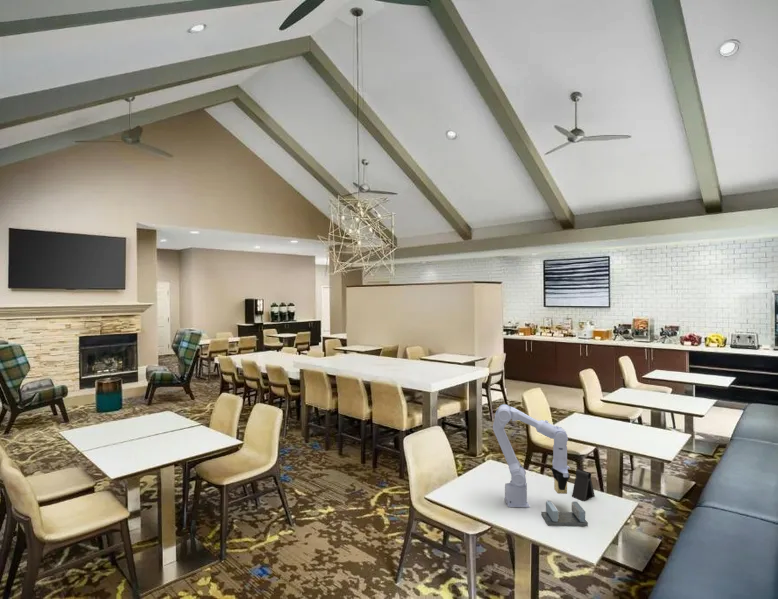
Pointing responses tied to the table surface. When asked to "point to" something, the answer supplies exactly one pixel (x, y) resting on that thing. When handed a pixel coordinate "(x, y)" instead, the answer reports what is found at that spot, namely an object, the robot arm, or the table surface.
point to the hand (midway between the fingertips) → (560, 487)
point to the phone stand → (583, 486)
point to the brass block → (556, 487)
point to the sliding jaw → (552, 511)
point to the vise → (568, 517)
